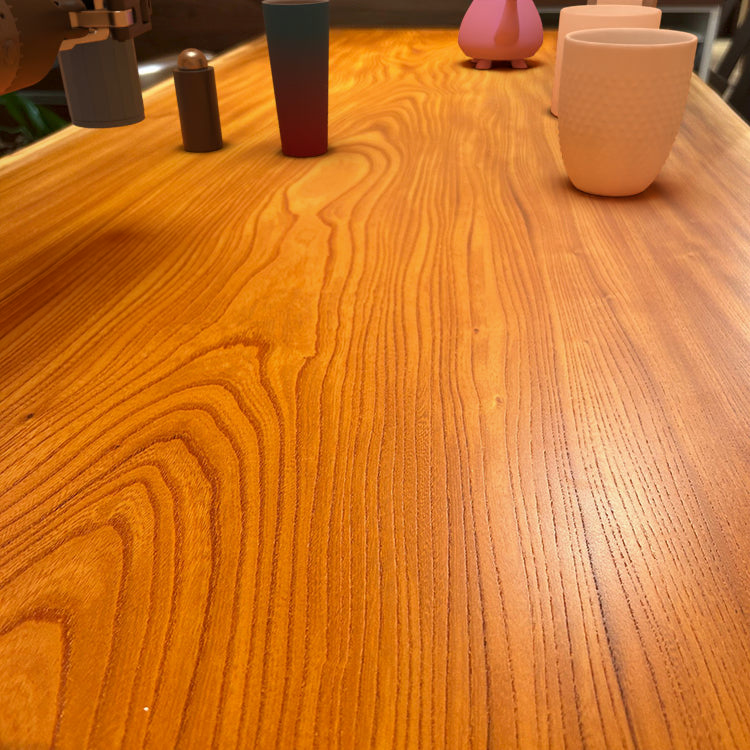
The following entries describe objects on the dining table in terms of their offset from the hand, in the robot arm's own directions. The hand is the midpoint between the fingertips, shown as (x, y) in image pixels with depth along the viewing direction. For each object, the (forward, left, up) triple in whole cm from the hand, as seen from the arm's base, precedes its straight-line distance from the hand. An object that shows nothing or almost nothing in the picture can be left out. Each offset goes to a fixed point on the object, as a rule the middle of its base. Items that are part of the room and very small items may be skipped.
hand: (105, 1), depth 58 cm
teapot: (+24, +82, -17) cm, 88 cm away
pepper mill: (-5, +24, -17) cm, 30 cm away
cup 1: (+7, +24, -17) cm, 31 cm away
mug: (+39, +17, -17) cm, 46 cm away
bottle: (0, -3, -8) cm, 8 cm away
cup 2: (+39, +47, -17) cm, 64 cm away
